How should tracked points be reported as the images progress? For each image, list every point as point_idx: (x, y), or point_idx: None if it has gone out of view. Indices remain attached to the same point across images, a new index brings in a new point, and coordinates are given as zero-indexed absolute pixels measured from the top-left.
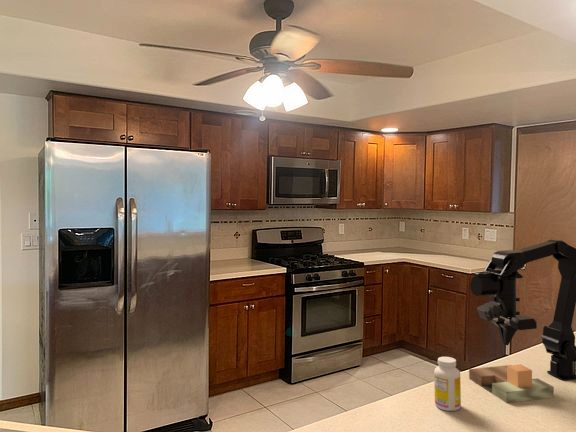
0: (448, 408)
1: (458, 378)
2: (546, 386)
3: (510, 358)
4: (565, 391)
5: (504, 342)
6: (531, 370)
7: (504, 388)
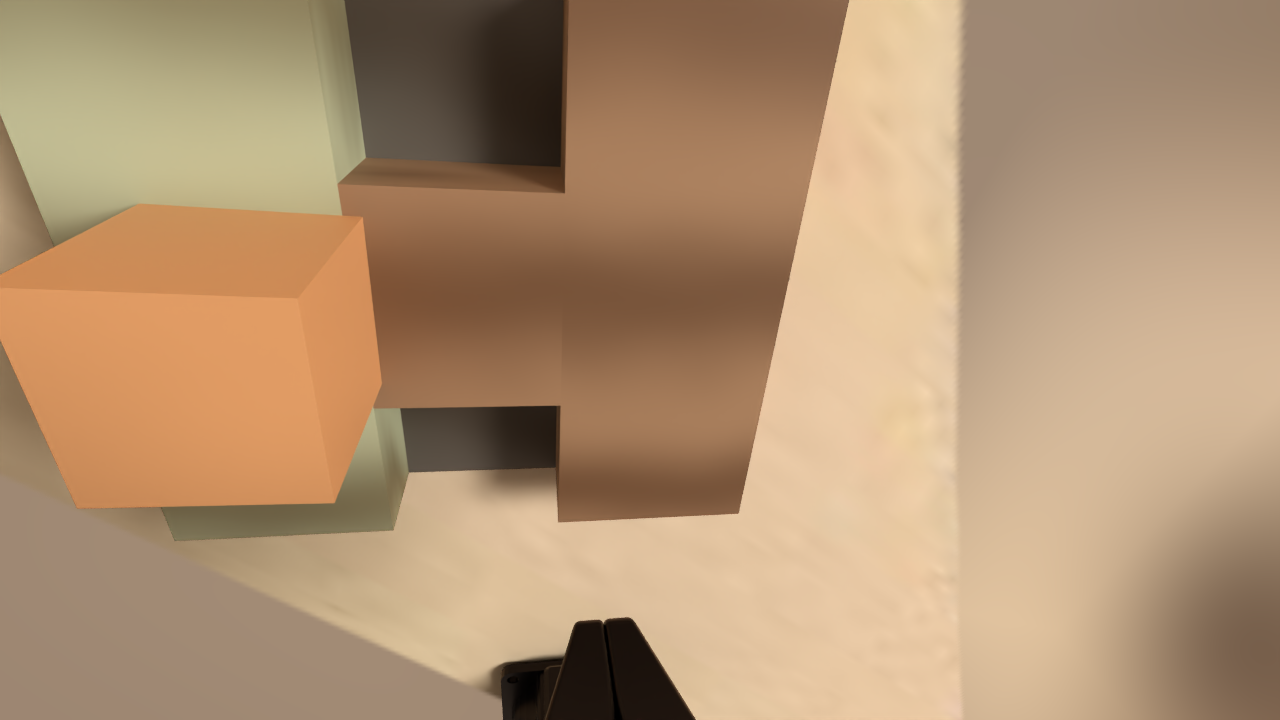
0: None
1: None
2: None
3: (932, 597)
4: (330, 592)
5: (595, 661)
6: (75, 498)
7: None
